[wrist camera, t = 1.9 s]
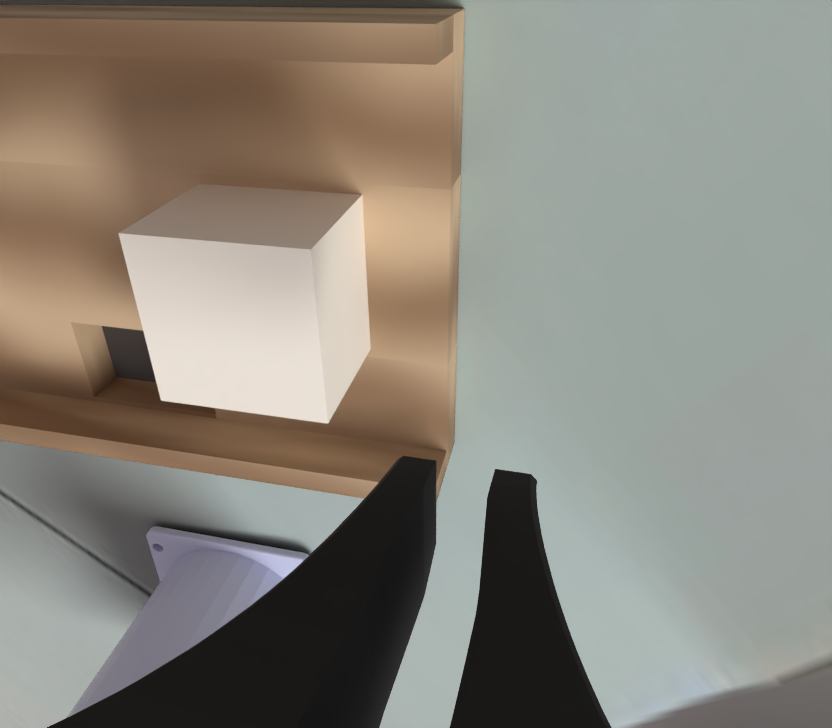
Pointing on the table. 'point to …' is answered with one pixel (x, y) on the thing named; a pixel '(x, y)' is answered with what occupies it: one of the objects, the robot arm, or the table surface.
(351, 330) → the block
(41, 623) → the table surface
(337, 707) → the robot arm
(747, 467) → the table surface
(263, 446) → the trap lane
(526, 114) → the table surface
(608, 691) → the table surface
